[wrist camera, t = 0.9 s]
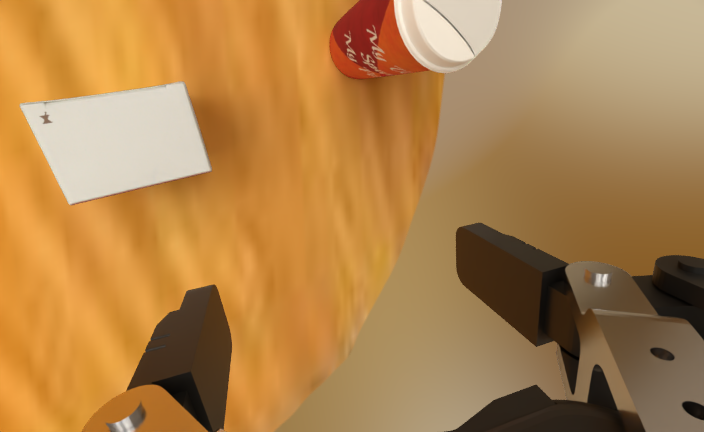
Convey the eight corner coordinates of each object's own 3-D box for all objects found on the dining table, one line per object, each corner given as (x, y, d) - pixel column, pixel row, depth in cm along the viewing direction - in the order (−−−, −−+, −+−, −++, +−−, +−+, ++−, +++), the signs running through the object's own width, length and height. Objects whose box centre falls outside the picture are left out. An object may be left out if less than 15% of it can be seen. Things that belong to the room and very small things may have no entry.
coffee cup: (310, 76, 32) (392, 43, 19) (328, -14, 31) (428, -114, 18) (381, 100, 36) (489, 87, 23) (399, 22, 35) (524, -39, 22)
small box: (105, 180, 27) (63, 208, 18) (75, 110, 25) (11, 103, 16) (206, 158, 30) (214, 173, 21) (186, 94, 28) (185, 80, 19)
